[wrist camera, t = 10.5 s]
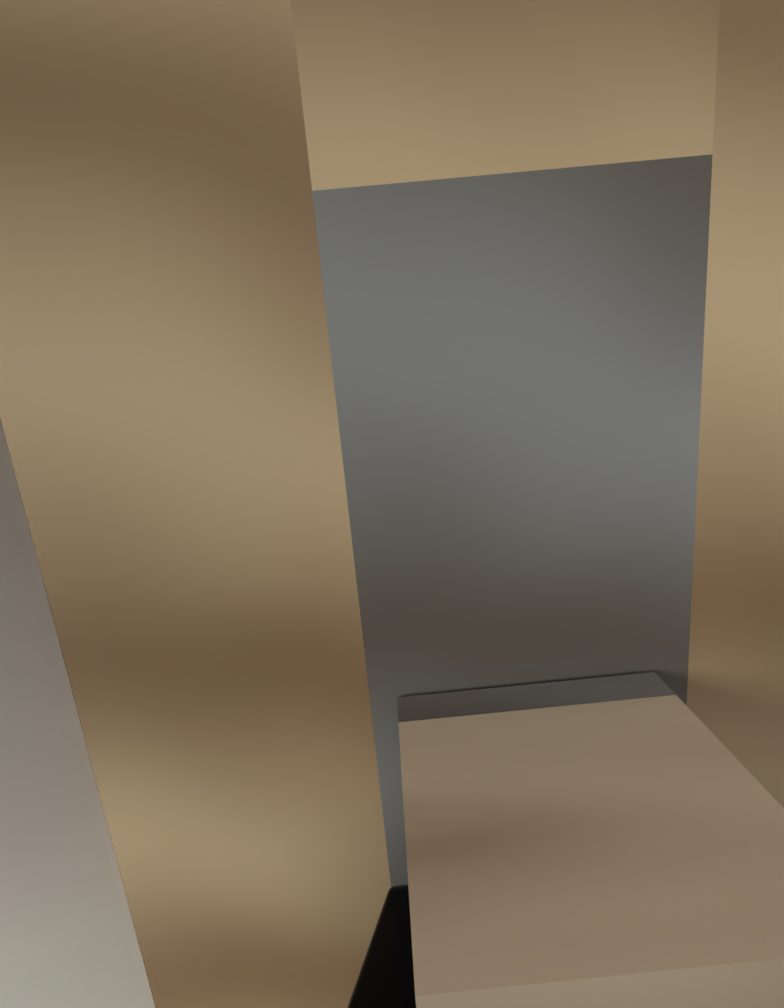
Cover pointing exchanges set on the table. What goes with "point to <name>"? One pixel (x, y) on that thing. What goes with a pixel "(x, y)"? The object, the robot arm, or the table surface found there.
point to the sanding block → (586, 852)
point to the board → (381, 413)
